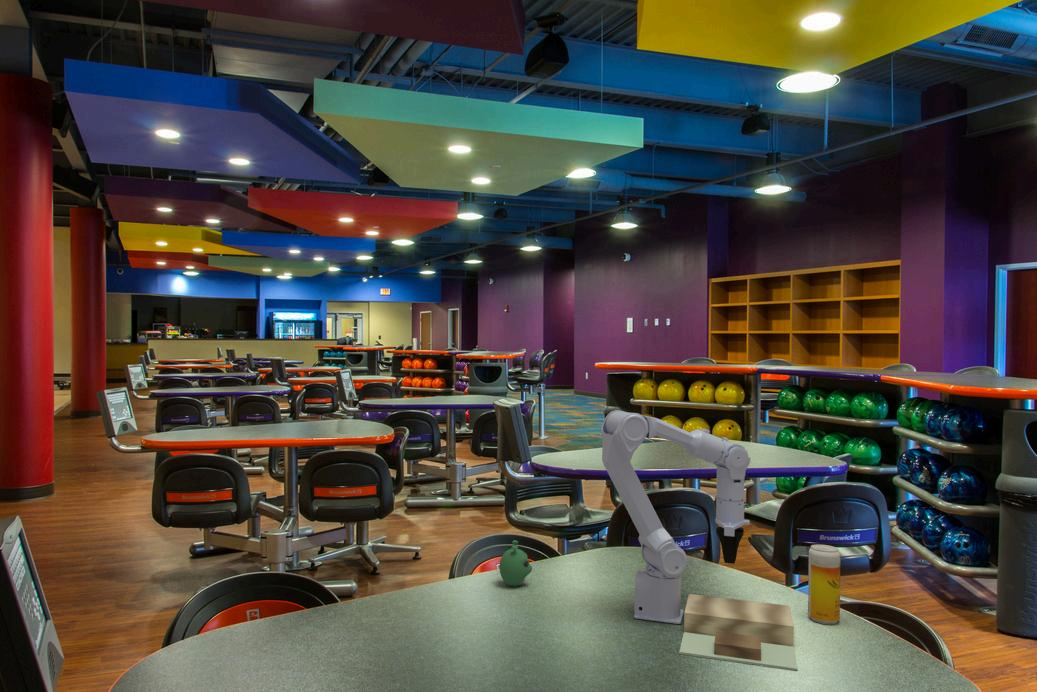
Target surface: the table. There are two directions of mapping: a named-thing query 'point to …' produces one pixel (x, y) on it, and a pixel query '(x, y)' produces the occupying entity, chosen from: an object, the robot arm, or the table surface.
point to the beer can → (824, 584)
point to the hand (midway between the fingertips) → (729, 562)
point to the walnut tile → (737, 646)
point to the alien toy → (514, 566)
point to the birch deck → (739, 619)
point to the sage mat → (769, 657)
